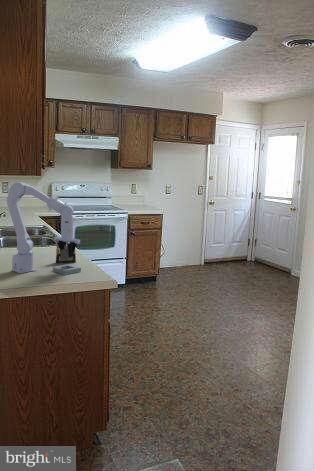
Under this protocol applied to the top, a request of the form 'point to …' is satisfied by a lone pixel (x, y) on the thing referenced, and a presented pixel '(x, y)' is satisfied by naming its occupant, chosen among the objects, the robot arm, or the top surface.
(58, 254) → the ammunition clip
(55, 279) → the top surface
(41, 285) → the top surface
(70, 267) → the socket plate
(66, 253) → the plug
